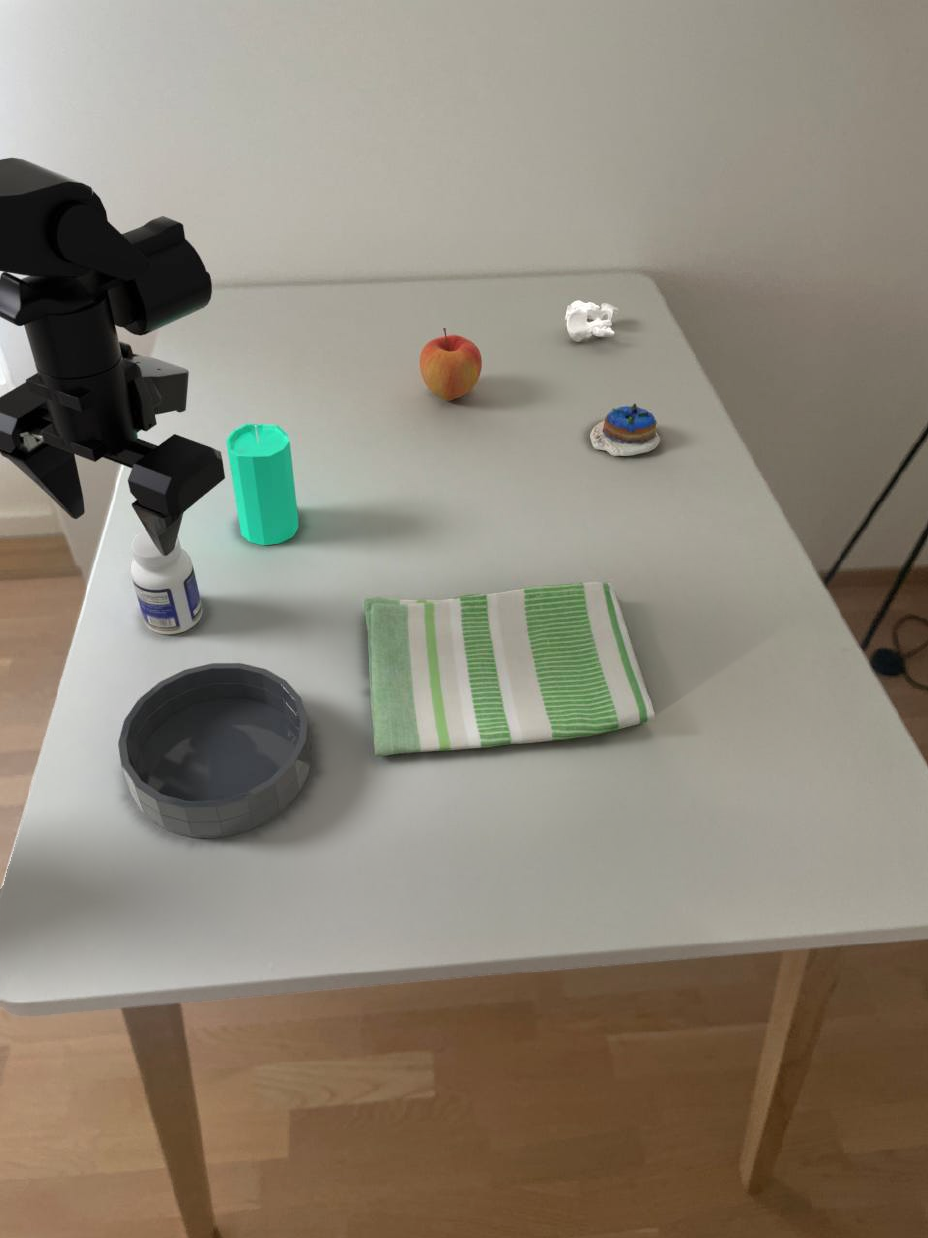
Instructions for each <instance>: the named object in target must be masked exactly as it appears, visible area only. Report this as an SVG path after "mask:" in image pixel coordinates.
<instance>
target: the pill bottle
mask: <svg viewBox="0 0 928 1238" xmlns="http://www.w3.org/2000/svg"><path fill="white" fill-rule="evenodd" d="M130 547H131V552H132V557H133V560H132V562H131V564H130V576H131V579H132V580H131V581H132V584H133V587H134V591H135V594H136V598H137V601H138V604H139V608H140V611H141V614H142V618H143V621H144V624H145V625H146V626H147V627H148V628H149V629H150V630H151V631H152V632H155V633H158V634H162V635H176V634H180V633H183V632H186V631H188V630H190V629H191V628H193V627H194V626H196V625H197V624H198V623H199V621H200V620H201V618H202V615H203V603H202V600H201V599H202V598H201V595H200V591H199V586H198V581H197V577H196V573H195V569H194V565H193V560H192V558H191V556H190V554H189V553H188V552H187V551H186V550H185V549H183V548H182V547H181V543H180V539H179V536H177V540H176V544H175V548H174V550H173V551H172V552H171V553H170V554H168V555H167V556H164V555H162V554H161V553H160V552H159V550H158V549H157V547H156V546H155V545H154V543H153V541H152V539H151V538H150V536H149V534H148V533H147V531H146V529H145V530H142V531H141V532H139V533H137V535H135V536H134V537H133V539H132V541H131V544H130Z"/></svg>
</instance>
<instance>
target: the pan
mask: <svg viewBox="0 0 928 1238" xmlns="http://www.w3.org/2000/svg"><path fill="white" fill-rule="evenodd" d="M309 723H310V722H309V717H308V714H307V711H306V708H305V704H304V701H303V698H302V697H301V696H300V695H299V693H298V692H297V691H296V690H295V689H294V688H293V686H292V685H291V684H290V683H289V682H288V681H287V680H286V679H284V678H282V677H280V676H279V675H277V674H276V673H273V672H272V671H270V670H268V669H266V668H263V667H258V666H254V665H251V664H246V663H242V662H213V663H208V664H203V665H199V666H195V667H189V668H187V669H183V670H181V671H179V672H177V673H175V674H173V675H171V676H169V677H167V678H164V679H163V680H160V681H159V682H158V683H156V684H155V685H154V686H152V687H151V688H150V689H149V690H148V691H147V692H145V693H144V694H143V695H142V696H141V697H139V698H138V699H137V701H136V702H135V703H134V705H133V706H132V708H131V709H130V711H129V712H128V714H127V715H126V716H125V718H124V720H123V722H122V728H121V731H120V734H119V738H118V743H117V747H118V753H119V761H120V765H121V769H122V771H123V774H124V778H125V781H126V783H127V786H128V788H129V792H130V794H131V796H132V798H133V799H134V801H135V803H136V805H137V807H138V808H139V809H140V811H141V812H142V813H143V814H144V815H145V817H147V818H148V819H149V820H150V821H151V822H153V823H154V824H156V825H157V826H159V827H161V828H163V829H164V830H166V831H168V832H171V833H174V834H177V835H179V836H185V837H189V838H197V839H216V838H217V839H218V838H226V837H230V836H231V837H232V836H234V835H239V834H242V833H245V832H249V831H252V830H253V829H256V828H258V827H260V826H262V825H264V824H266V823H268V822H269V821H271V820H272V819H274V818H275V817H277V816H278V815H279V814H280V813H282V812H283V811H284V810H285V809H287V807H288V806H289V805H290V804H291V803H292V802H293V801H294V799H295V798H297V796H298V795H299V793H300V792H301V790H302V788H303V787H304V786H305V783H306V781H307V778H308V776H309V772H310V769H311V763H312V749H313V748H312V740H311V732H310V731H311V730H310V724H309Z"/></svg>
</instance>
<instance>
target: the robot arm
mask: <svg viewBox="0 0 928 1238" xmlns="http://www.w3.org/2000/svg"><path fill="white" fill-rule="evenodd" d="M0 272H1V273H0V318H2V319H3V320H5V321H7V322H9V323H10V324H13V325H16V326H17V327H23V326H24V329H25V333H26V337H27V341H28V344H29V347H30V351H31V354H32V358H33V361H34V365H35V369H36V373H35V374H33V375H31V376H29V377H27V378H26V379H25V382H23V383H22V384H20V385H19V386H16V387H15V388H14V389H12V390H10V391H8V392H7V393H5V394H3V395H1V396H0V455H1V456H2V457H3V458H6V459H7V460H9V462H11V463H12V464H13V465H14V466H15V467H17V468H18V469H19V470H20V471H21V472H22V473H24V474H25V475H26V476H27V477H28V478H29V479H30V480H32V482H33V483H35V484H36V485H37V487H39V489H41V490H43V492H44V493H45V494H47V495H48V496H49V498H51V499H52V500H53V502H55V503H56V504H57V505H58V506H59V507H60V508H61V509H62V510H63V511H64V512H65V513H66V514H67V515H68V516H70V518H71V519H74V520H77V519H79V518H81V517H82V516H83V515H85V499H84V494H83V490H82V489H83V488H82V484H81V480H80V475H79V470H78V465H77V460H76V456H78V457H81V458H84V459H86V460H89V461H91V462H93V463H97V462H98V461H99V460H101V459H102V458H104V459H106V460H109V461H112V462H114V463H115V464H116V463H117V464H119V465H122V466H125V467H127V468H129V469H131V471H130V473H129V475H128V478H127V485H128V488H129V491H130V492H129V493H130V494H131V495H132V497H133V498H134V499H135V501H133V502H132V503H131V507H132V508H133V510H134V512H135V515H137V518H138V519H139V520H140V522H141V524H142V525H143V527H144V529H145V530H146V531H147V533H148V534H149V536H150V538H151V539H152V541H153V543H154V545H155V546H156V547H157V549H158V550H159V552H160V553H161V554H162V555H164V556H167V555H168V554H170V553H171V552H172V551H173V550H174V548H175V544H176V540H177V536H178V535H179V532H180V528H181V524H182V521H183V517H184V513H185V512H186V511H187V510H188V509H190V508H191V507H192V506H193V505H194V504H196V503H197V502H198V501H199V500H201V499H202V498H203V497H204V496H205V495H206V494H208V493H210V492H211V491H212V490H213V489H214V488H215V487H216V486H218V485H219V484H221V482H223V481H224V480H226V474H225V467H224V462H223V461H224V460H223V455H222V452H221V451H220V450H219V449H216V448H215V447H212V446H209V445H206V444H204V443H201V442H198V441H195V440H193V439H189V438H187V437H184V436H181V435H178V434H176V433H174V434H172V435H171V436H169V437H168V438H166V440H164V441H162V442H161V443H160V444H159V445H157V444H155V443H152V442H149V441H146V440H144V439H141V438H139V436H138V435H139V434H138V433H140V432H141V431H142V432H148V431H149V430H151V429H153V428H154V427H155V426H156V425H158V423H157V418H156V415H161V414H166V413H171V412H177V413H183V412H185V411H186V410H187V402H188V401H187V400H188V387H189V375H190V371H189V369H187V368H184V367H182V366H179V365H176V364H173V363H170V362H167V361H164V360H161V359H158V358H155V357H151V356H145V355H141V354H139V353H134V351H133V348H132V346H131V345H130V344H129V343H127V342H124V341H122V340H119V336H118V331H117V327H119V328H123V329H125V330H126V331H127V332H129V333H130V334H132V335H135V336H139V337H140V336H146V335H148V334H150V333H152V332H154V331H157V330H159V329H161V328H163V327H165V326H168V325H170V324H172V323H174V322H176V321H178V320H180V319H182V318H184V317H187V316H189V315H191V314H193V313H196V312H199V311H200V310H203V309H205V307H207V306H208V305H209V303H210V301H211V299H212V294H213V284H212V277H211V274H210V273H209V271H207V269H206V266H205V264H204V261H203V260H202V258H201V256H200V254H199V253H198V252H197V249H196V248H195V247H194V246H193V245H192V244H191V242H190V241H189V240H187V239H186V233H185V228H184V224H183V223H182V222H180V221H177V220H175V219H173V218H170V217H167V216H165V215H161V216H158V217H156V218H153V219H151V220H149V221H147V222H146V223H145V224H144V225H141V226H140V227H137V228H135V229H132V230H130V231H126V232H124V233H123V232H122V233H121V232H120V231H119V230H118V229H117V228H116V227H115V226H114V225H113V224H111V222H110V221H109V220H108V215H107V209H106V208H105V205H104V204H103V201H102V199H101V198H100V196H99V195H98V194H97V192H95V191H94V190H93V188H92V187H91V186H90V185H88V184H85V183H83V182H81V181H78V180H76V179H74V178H71V177H68V176H66V175H63V174H61V173H59V172H56V171H53V170H50V169H48V168H46V167H44V166H41V165H39V164H36V163H34V162H31V161H28V160H26V159H23V158H17V157H7V158H1V159H0ZM14 274H15V275H16V276H15V275H14ZM17 275H21V276H25V277H23V278H20V277H18V276H17ZM75 455H76V456H75ZM178 537H179V536H178Z"/></svg>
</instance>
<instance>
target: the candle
mask: <svg viewBox="0 0 928 1238" xmlns="http://www.w3.org/2000/svg"><path fill="white" fill-rule="evenodd" d="M225 442H226V448H227V449H226V450H227V456H228V462H229V468H230V474H231V479H232V486H233V492H234V498H235V504H236V511H237V512H236V513H237V517H238V523H239V529H240V535H241V536H242V537H243V538H245V540H247V541H248V542H249V543H253V544H257V545H261V546H269V545H277V544H282V543H284V542H286V541H288V540H290V539H291V538H294V536H295V534H296V533H297V531H298V530H299V528H300V524H299V514H298V506H297V496H296V495H297V494H296V487H295V478H294V477H295V476H294V469H293V468H294V466H293V460H292V450H291V441H290V437H289V434H287V433H286V431H285V430H283V428H282V427H280V426H279V425H278V424H261V423H244V424H242V425H241V426H239V427H237V428H235V429H233V430H232V431H231V432H230V434H229V435H228V436H227V438H226V439H225Z"/></svg>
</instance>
